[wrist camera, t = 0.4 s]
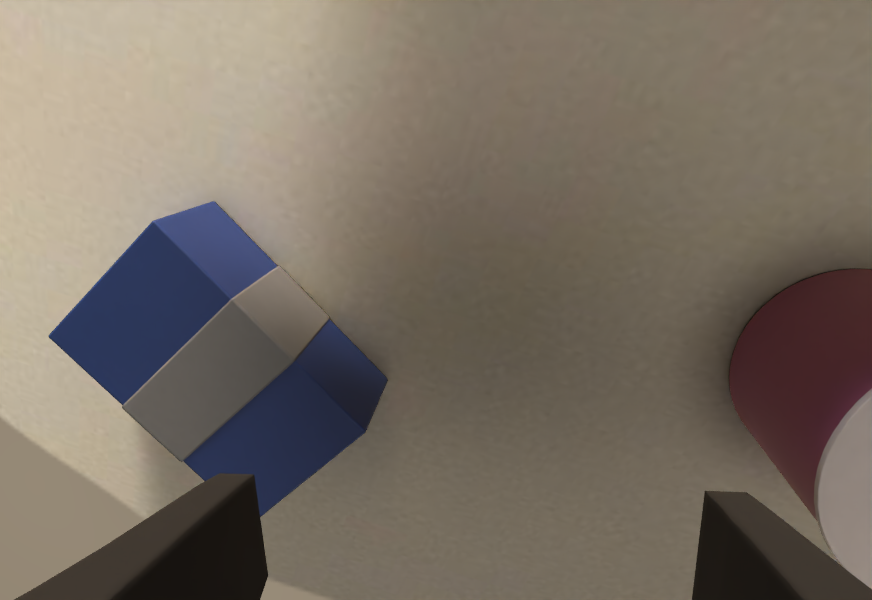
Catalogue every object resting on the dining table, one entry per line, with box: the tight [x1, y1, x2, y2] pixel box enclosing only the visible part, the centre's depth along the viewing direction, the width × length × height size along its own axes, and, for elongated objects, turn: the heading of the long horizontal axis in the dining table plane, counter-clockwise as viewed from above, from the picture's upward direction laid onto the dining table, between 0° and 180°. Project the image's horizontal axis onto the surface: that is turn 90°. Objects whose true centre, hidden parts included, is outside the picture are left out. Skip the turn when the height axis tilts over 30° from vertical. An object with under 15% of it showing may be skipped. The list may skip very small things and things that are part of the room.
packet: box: [49, 201, 388, 517], centre depth 19 cm, size 8×5×4 cm, turn 43°
